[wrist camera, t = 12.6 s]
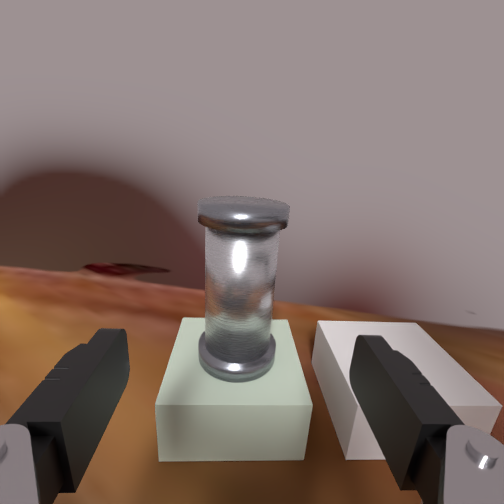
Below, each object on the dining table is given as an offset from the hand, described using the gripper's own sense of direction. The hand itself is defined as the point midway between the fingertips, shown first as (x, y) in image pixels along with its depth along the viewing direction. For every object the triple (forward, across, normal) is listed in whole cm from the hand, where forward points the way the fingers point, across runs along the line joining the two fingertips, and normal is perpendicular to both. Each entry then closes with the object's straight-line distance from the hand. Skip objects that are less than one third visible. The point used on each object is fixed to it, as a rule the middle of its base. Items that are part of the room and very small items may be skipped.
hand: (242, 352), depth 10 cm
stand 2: (+11, -13, +14) cm, 22 cm away
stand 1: (+11, 0, +14) cm, 17 cm away
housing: (+11, 0, +8) cm, 14 cm away
